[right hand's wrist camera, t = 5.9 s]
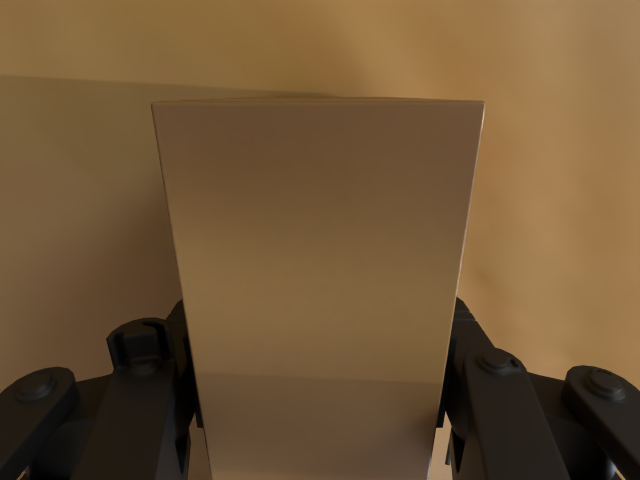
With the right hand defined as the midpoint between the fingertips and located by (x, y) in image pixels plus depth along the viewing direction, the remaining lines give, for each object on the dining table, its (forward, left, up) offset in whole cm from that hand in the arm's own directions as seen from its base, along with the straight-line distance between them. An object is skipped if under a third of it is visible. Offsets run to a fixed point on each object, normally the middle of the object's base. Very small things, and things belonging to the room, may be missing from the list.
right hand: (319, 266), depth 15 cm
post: (+7, -21, -1) cm, 22 cm away
